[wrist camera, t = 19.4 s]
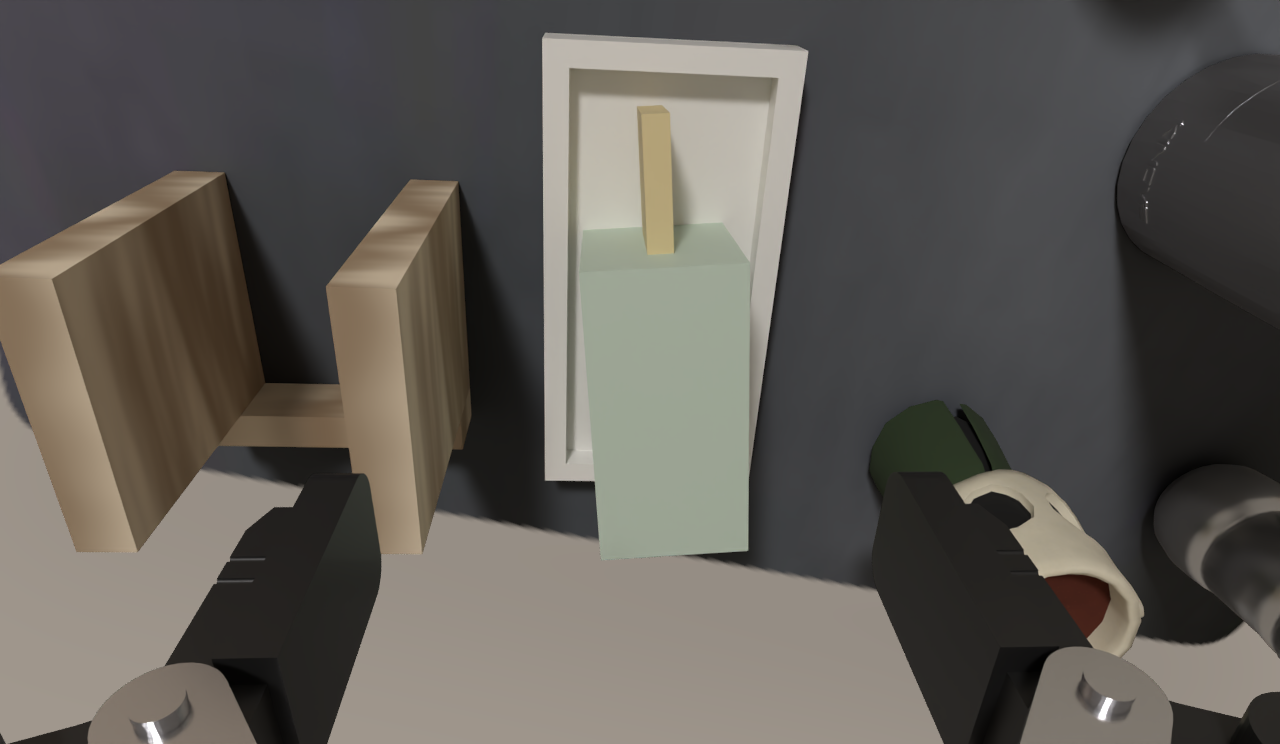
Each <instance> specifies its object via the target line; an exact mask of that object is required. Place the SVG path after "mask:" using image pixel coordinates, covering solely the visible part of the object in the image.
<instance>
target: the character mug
mask: <svg viewBox="0 0 1280 744" xmlns="http://www.w3.org/2000/svg"><path fill="white" fill-rule="evenodd" d="M960 406H961V407H962V409H963V411H964V412H965V414H966V416H967V418H968V419H969V421H970V423H971V424H970V423H968V422H966V421H964V420H962V419H960V418H958V417H953V416H952V414H951V413H950V411H949V410H948V408H947V407H946V405H945V404H944V402H943V401H939V400H934V401H930V402H927V403H923V404H919V405H915V406H911V407H909V408H907V409H906V410H904V411H903V412H901V413H900V414H899V415H897V416H896V417H894V418H893V419H891V420H890V421H888V422H887V423H886V424H885V426H884V428H883V429H882V431H881V433H880V435H879V437H878V439H877V440H876V442H875V444H874V446H873V448H872V455H871V462H870V469H869V471H870V473H871V475H872V478H873V480H874V482H875V484H876V487H877V489H878V490H879V492H880V493H881V494H882V496H883V497H884V492H885V488H886V483H887V480H888V478H889V476H890V474H891V473H893V472H943V473H944V474H946V476H947V477H948V478H949V480H950V481H951V483H952V484H953V486H954V487H955V489H956V490H957V492H958V493H959V495H960V496H961V498H962V499H963V501H964V502H965V504H979V505H981V506H982V507H983V508H985V509H986V510H987V511H989V512H990V513H991V514H992V515H994V516H995V517H996V518H998V519H999V520H1000V521H1002V522H1003V523H1004V524H1006V525H1007V527H1008V528H1009V529H1010V531H1011V532H1012V534H1013V535H1014V536H1015V538H1016V539H1017V541H1018V542H1019V543H1020V545H1021V546H1022V548H1023V549H1024V555H1028V556H1029V558H1030V559H1031V560H1032V562H1033V563H1034V565H1035V566H1036V567H1037V569H1038V574H1039V576H1043V577H1044V579H1045V580H1046V582H1047V583H1048V584H1049V586H1050V587H1051V589H1052V590H1053V591H1054V593H1055V594H1056V596H1057V597H1058V599H1059V600H1060V601H1061V603H1062V604H1063V606H1064V607H1065V608H1066V610H1067V611H1068V613H1069V614H1070V615H1071V617H1072V618H1073V620H1074V621H1075V623H1076V624H1077V625H1078V627H1079V628H1080V630H1081V631H1082V632H1083V634H1084V635H1085V637H1086V638H1087V640H1088V641H1089V642H1090V644H1091V645H1092V647H1093V648H1094V649H1098V650H1102V651H1105V652H1108V653H1111V654H1113V655H1116V656H1118V657H1120V658H1121V657H1122V656H1123V655H1124V654H1125V653H1126V652H1127V651H1128V650H1129V649H1130V648H1131V647H1132V644H1133V641H1134V639H1135V636H1136V634H1137V631H1138V628H1139V626H1140V623H1141V618H1142V617H1144V607H1143V605H1142V603H1141V600H1140V599H1139V598H1138V596H1137V594H1136V592H1135V591H1134V589H1133V587H1132V586H1131V585H1130V583H1129V582H1128V581H1127V580H1126V578H1125V577H1124V576H1123V575H1122V574H1121V572H1120V571H1119V570H1118V569H1117V567H1116V566H1115V564H1114V563H1113V561H1112V560H1111V558H1110V557H1109V555H1108V554H1107V552H1106V550H1105V549H1104V548H1103V547H1102V546H1100V545H1099V544H1098V543H1097V542H1096V541H1095V540H1094V539H1093V538H1091V537H1089V536H1088V535H1087V534H1085V532H1084V530H1083V528H1082V527H1081V525H1080V523H1079V521H1078V519H1077V518H1076V516H1075V515H1074V513H1073V512H1072V511H1071V509H1070V508H1069V506H1068V505H1067V504H1066V502H1064V501H1063V500H1062V499H1061V498H1060V497H1059V496H1058V495H1057V494H1056V493H1055V492H1054V491H1053V490H1052V489H1051V488H1050V487H1049V486H1047V485H1045V484H1044V483H1042V482H1040V481H1038V480H1036V479H1034V478H1033V477H1031V476H1029V475H1027V474H1025V473H1022V472H1019V471H1015V470H1011V468H1010V466H1009V464H1008V462H1007V460H1006V458H1005V456H1004V454H1003V452H1002V450H1001V448H1000V446H999V444H998V442H997V441H996V439H995V437H994V436H993V434H992V433H991V431H990V429H989V428H988V426H987V425H986V423H985V421H984V420H983V418H982V417H980V416H979V415H978V414H977V413H975V412H974V411H973V410H972V409H971V408H969V407H968V406H967V405H964V404H960Z"/></svg>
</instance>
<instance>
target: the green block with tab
mask: <svg viewBox="0 0 1280 744" xmlns="http://www.w3.org/2000/svg"><path fill="white" fill-rule="evenodd" d="M637 122H638V145H639V167H640V189H641V212H642V227H630V228H611V229H593V230H583V237H582V247H581V257H580V266H579V281H580V294H581V307H582V320H583V333H584V346H585V359H586V372H587V385H588V398H589V412H590V425H591V438H592V451H593V464H594V477H595V490H596V503H597V516H598V529H599V542H600V555H601V560H613V559H629V558H644V557H658V556H659V557H660V556H676V555H691V554H707V553H722V552H738V551H748V503H749V354H750V262H749V261H748V259H747V258H746V256H745V255H744V253H743V252H742V250H741V249H740V248H739V246H738V245H737V243H736V242H735V240H734V239H733V237H732V236H731V234H730V233H729V231H728V230H727V229H726V227H725V226H724V224H723V223H722V222H721V223H703V224H685V225H673V197H672V164H671V130H670V112H669V111H668V110H667V109H665V108H664V107H663V106H662V105H655V106H637Z"/></svg>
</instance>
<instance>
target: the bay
mask: <svg viewBox="0 0 1280 744" xmlns="http://www.w3.org/2000/svg"><path fill="white" fill-rule="evenodd" d="M326 292H327V298H328V305H329V312H330V319H331V326H332V333H333V340H334V347H335V354H336V361H337V368H338V375H339V382H340V385H339V384H290V383H265V379H264V374H263V369H262V363H261V358H260V353H259V348H258V343H257V337H256V332H255V327H254V322H253V317H252V312H251V306H250V301H249V296H248V291H247V286H246V281H245V275H244V270H243V265H242V260H241V255H240V249H239V244H238V239H237V234H236V229H235V224H234V218H233V213H232V208H231V203H230V198H229V192H228V187H227V182H226V177H225V173H222V172H195V171H173V172H172V173H170V174H168V175H166V176H164V177H162V178H160V179H159V180H157V181H155V182H153V183H151V184H149V185H147V186H146V187H144V188H142V189H140V190H138V191H136V192H134V193H133V194H131V195H129V196H127V197H125V198H123V199H121V200H120V201H118V202H116V203H114V204H112V205H110V206H108V207H107V208H105V209H103V210H101V211H99V212H97V213H95V214H94V215H92V216H90V217H88V218H86V219H84V220H82V221H80V222H79V223H77V224H75V225H73V226H71V227H69V228H67V229H66V230H64V231H62V232H60V233H58V234H56V235H54V236H53V237H51V238H49V239H47V240H45V241H43V242H41V243H40V244H38V245H36V246H34V247H32V248H30V249H28V250H27V251H25V252H23V253H21V254H19V255H17V256H15V257H14V258H12V259H10V260H8V261H6V262H4V263H2V264H1V265H0V341H1V343H2V346H3V349H4V352H5V354H6V357H7V360H8V363H9V365H10V368H11V371H12V374H13V377H14V379H15V382H16V385H17V388H18V390H19V393H20V396H21V399H22V402H23V404H24V407H25V410H26V413H27V415H28V418H29V421H30V424H31V427H32V429H33V432H34V435H35V438H36V440H37V443H38V446H39V449H40V452H41V454H42V457H43V460H44V462H45V465H46V468H47V471H48V474H49V476H50V479H51V482H52V485H53V487H54V490H55V493H56V496H57V498H58V501H59V504H60V507H61V510H62V513H63V515H64V518H65V521H66V524H67V526H68V529H69V532H70V535H71V537H72V540H73V543H74V546H75V549H76V551H77V552H138V551H139V550H140V548H141V547H142V546H143V545H144V543H145V542H146V541H147V539H148V538H149V537H150V535H151V534H152V533H153V531H154V530H155V529H156V527H157V526H158V525H159V523H160V522H161V521H162V519H163V518H164V517H165V515H166V514H167V513H168V511H169V510H170V509H171V507H172V506H173V505H174V503H175V502H176V501H177V499H178V498H179V497H180V495H181V494H182V493H183V491H184V490H185V489H186V487H187V486H188V485H189V484H190V482H191V481H192V480H193V478H194V477H195V475H196V474H197V473H198V472H199V470H200V469H201V468H202V466H203V465H204V464H205V462H206V461H207V460H208V458H209V457H210V456H211V454H212V453H213V452H214V450H215V449H216V448H217V446H267V447H332V448H349V452H350V459H351V466H352V473H364V474H366V476H367V477H368V480H369V483H370V489H371V495H372V501H373V507H374V514H375V520H376V526H377V532H378V539H379V545H380V551H381V554H423V550H424V547H425V543H426V540H427V536H428V533H429V529H430V526H431V522H432V518H433V515H434V512H435V508H436V505H437V501H438V498H439V494H440V490H441V487H442V483H443V480H444V476H445V473H446V469H447V466H448V462H449V459H450V455H451V452H452V449H462V450H463V446H464V442H465V438H466V435H467V431H468V427H469V423H470V419H471V416H472V415H471V398H470V380H469V362H468V344H467V326H466V309H465V291H464V273H463V255H462V238H461V220H460V202H459V184H458V181H436V180H410V181H409V182H408V183H407V184H406V186H405V187H404V188H403V190H402V191H401V192H400V193H399V195H398V196H397V197H396V198H395V200H394V201H393V202H392V203H391V205H390V206H389V207H388V209H387V210H386V211H385V212H384V214H383V215H382V216H381V217H380V219H379V220H378V221H377V223H376V224H375V225H374V226H373V228H372V229H371V230H370V231H369V233H368V234H367V235H366V236H365V238H364V239H363V240H362V242H361V243H360V244H359V245H358V247H357V248H356V249H355V250H354V252H353V253H352V254H351V255H350V257H349V258H348V259H347V261H346V262H345V263H344V264H343V266H342V267H341V268H340V269H339V271H338V272H337V273H336V274H335V276H334V277H333V278H332V280H331V281H330V282H329V283H328V285H327V286H326Z"/></svg>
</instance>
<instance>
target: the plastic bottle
mask: <svg viewBox="0 0 1280 744" xmlns="http://www.w3.org/2000/svg"><path fill="white" fill-rule="evenodd" d="M1153 527H1154V532H1155V536H1156V537H1157V539H1158V541H1159V543H1160V544H1161V546H1162V548H1163V549H1164V551H1165V552H1166V554H1167V556H1168V557H1169V559H1170V560H1171V561H1172V562H1173V563H1174V564H1175V565H1176V566H1177V567H1178V568H1179V569H1181V570H1182V571H1183V572H1184V573H1185V574H1187V575H1188V576H1189V577H1190V578H1191V579H1193V580H1194V581H1195V582H1197V583H1198V584H1199V585H1201V586H1202V587H1204V588H1205V589H1207V590H1209V591H1210V592H1212V593H1213V594H1214V595H1216V596H1217V597H1218V598H1219V599H1220V600H1221V601H1222V602H1223V603H1224V604H1226V605H1227V606H1228V607H1229V608H1230V609H1231V610H1232V611H1233V612H1235V613H1236V614H1237V615H1238V616H1239V617H1240V618H1241V619H1242V620H1243V621H1245V622H1246V623H1247V624H1248V625H1249V626H1250V627H1251V628H1252V629H1254V630H1255V631H1256V632H1257V633H1258V634H1259V635H1260V636H1261V638H1263V640H1264V641H1265V642H1266V643H1267V645H1268V646H1269V647H1270V648H1271V649H1272V650H1273V651H1274V652H1275V653H1277V655H1278V657H1279V658H1280V484H1279V483H1278V482H1276V481H1274V480H1273V479H1271V478H1269V477H1267V476H1265V475H1263V474H1262V473H1260V472H1258V471H1256V470H1254V469H1251V468H1248V467H1245V466H1239V465H1228V464H1212V465H1207V466H1202V467H1199V468H1196V469H1193V470H1191V471H1189V472H1187V473H1185V474H1183V475H1182V476H1180V477H1179V478H1177V479H1176V480H1174V481H1173V482H1172V483H1171V484H1170V485H1169V486H1168V487H1167V488H1166V489H1165V490H1164V491H1163V492H1162V494H1161V495H1160V497H1159V499H1158V501H1157V503H1156V506H1155V509H1154V526H1153Z"/></svg>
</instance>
